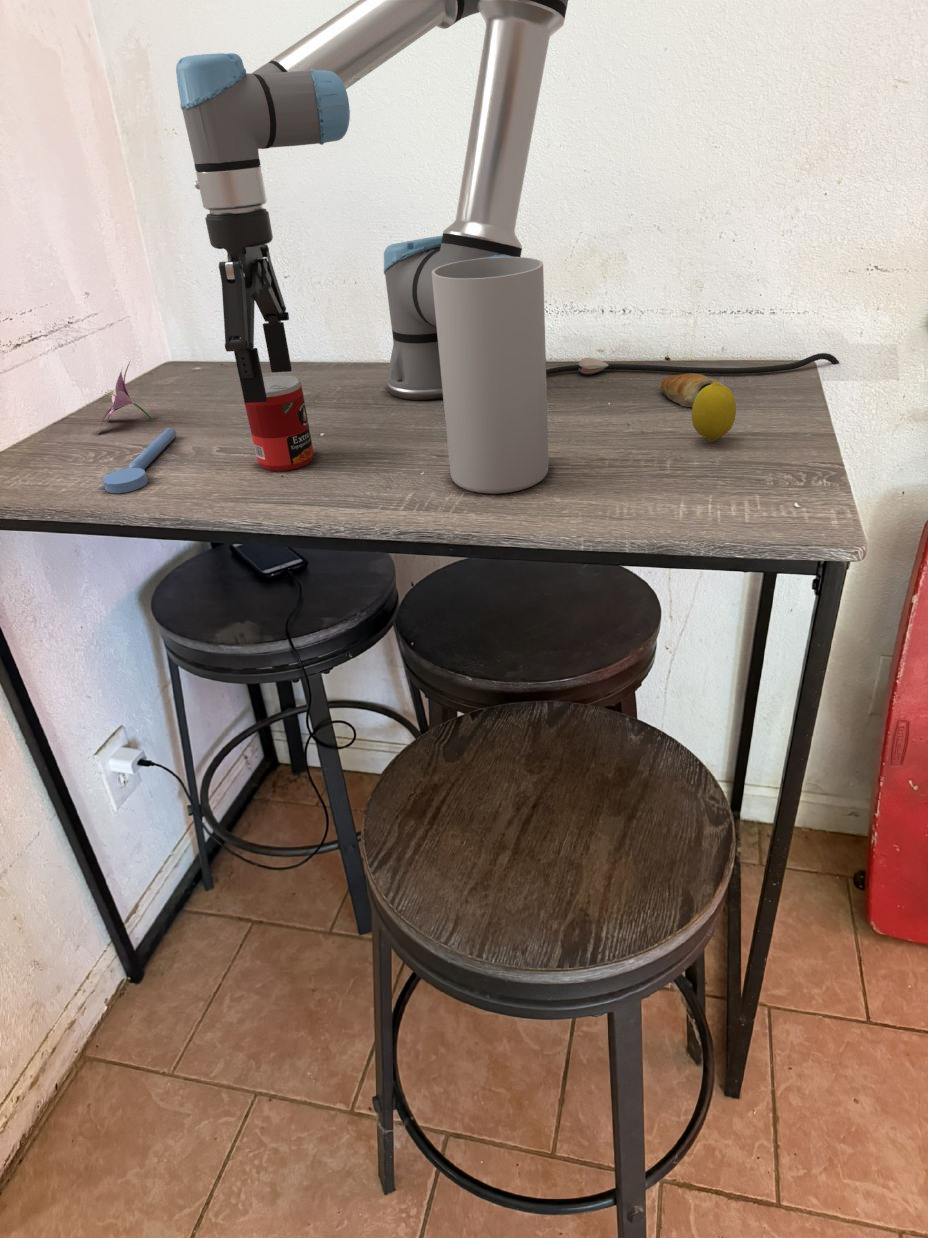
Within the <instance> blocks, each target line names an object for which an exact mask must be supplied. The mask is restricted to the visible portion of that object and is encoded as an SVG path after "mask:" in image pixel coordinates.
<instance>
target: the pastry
mask: <svg viewBox="0 0 928 1238" xmlns="http://www.w3.org/2000/svg"><path fill="white" fill-rule="evenodd" d="M713 382H718V381H717V380H716V379H715V378H714V377H712V378H709V377H707V376H705V375H704V374H697V373H682V374H676V375H668V376H666V377H664V378H663V379H662V380H661V382H660V385H659V386H660V387H659V388H660V389H661V390H662V392H663V394H664V395H665V397H667V399H668V400H671V401H672V402H673V403H676V404H679V405H680V406H682V407H687V408H693V403H694V400H695V398H696V396H697V394H698V393H699V392H700V391H701V390H702V389H703V388H704V387H706V386H708V385H711V384H712V383H713Z"/></svg>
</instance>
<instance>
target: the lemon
mask: <svg viewBox="0 0 928 1238" xmlns="http://www.w3.org/2000/svg"><path fill="white" fill-rule="evenodd" d="M736 415H737V403H736V398H735V395H734V393H733V392H732V390H731V389H730V388H729V387H727V386H726V385H724V384H721V383H720V381H717V382H713V383H712V384H711V385H708V386H706V387H704V388H703V389H702V390H701V391H700V392H699V393H698V394H697V396H696V398H695V400H694V403H693V407H691V421H692V426H693V428H694V430H695V431H696V432H697V433H698V434H699V435H700V436H701V437H703V438H705V439H706V440H707V441H708V442H709V443H712V442H713V443H714V442H715V441H716V440H717V439H718V438H722V437H724V436H725V435H727V433H729V431H730V430H731V429H732V428H733V426H734V422H735V420H736Z"/></svg>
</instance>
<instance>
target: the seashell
mask: <svg viewBox="0 0 928 1238" xmlns="http://www.w3.org/2000/svg"><path fill="white" fill-rule="evenodd" d="M608 364H609V363H607V362H605V361H602V360H600V359H599V358H596V357H584V358H581V360H580V361H579V362H578V365H579V366H581V367H583V368H582V369H580V368H579V371H578V372H580V373H581V374H582V375H589V376H590V375H594V374H597V373H599V372H601V371H604V370H603V369H604V368H606V367H608Z"/></svg>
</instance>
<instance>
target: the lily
mask: <svg viewBox="0 0 928 1238" xmlns="http://www.w3.org/2000/svg"><path fill="white" fill-rule="evenodd" d="M130 363H131V360H130V361H128V364H127V365H126V368H125V372H124V374H123V369H124V366H125V364H123V365H122V366H121V371H120V372H119V375H118V378H117V380H116V384H115V388H114V389H113V391H112V390H111V389H110V390H109V389H107V391H105V394H103V395H104V396H107V397H109V396H111V402H112V405H111V406H110V407H109V408H108V409H107V411H106V412H105V414H104V416H103V417H102V420H101V423H100V426H99V429H98V432H100V431H101V428H102V425H103V423H104V421H105V419H106V417H107V421H109V419H110V417H111V414H112V413H113V412H115V411H117V410H119V409H122V408H124V407H126V406H128V405H133V406H134V407H136V408H138V409H139V410H141V411H142V413H144V414H145V415H146V416H147V417H148V418H149V419H150V420H153V419H154V418H153V417H152V416H151V415H150V414H149V413H148V412H147V411H145V409H144V408H143V407H141V406H140V405H138V403H136V402H134V401H133V400H132V398H131V396H130V394H129V392H128V389H127V386H126V376H127V372H128V369H129V367H130ZM107 415H108V416H107Z"/></svg>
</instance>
